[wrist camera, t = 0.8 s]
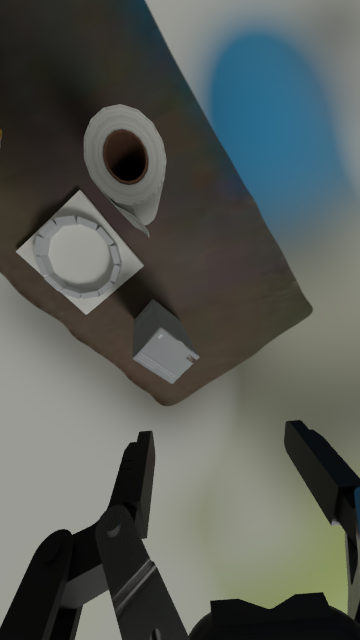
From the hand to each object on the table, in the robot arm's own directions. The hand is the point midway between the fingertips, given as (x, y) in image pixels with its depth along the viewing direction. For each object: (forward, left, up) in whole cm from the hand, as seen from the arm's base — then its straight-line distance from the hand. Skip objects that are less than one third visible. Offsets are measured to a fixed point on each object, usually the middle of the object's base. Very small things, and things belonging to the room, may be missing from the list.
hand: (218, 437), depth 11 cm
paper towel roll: (-11, +13, -32) cm, 36 cm away
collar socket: (-17, +2, -32) cm, 36 cm away
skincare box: (0, -5, -32) cm, 32 cm away
